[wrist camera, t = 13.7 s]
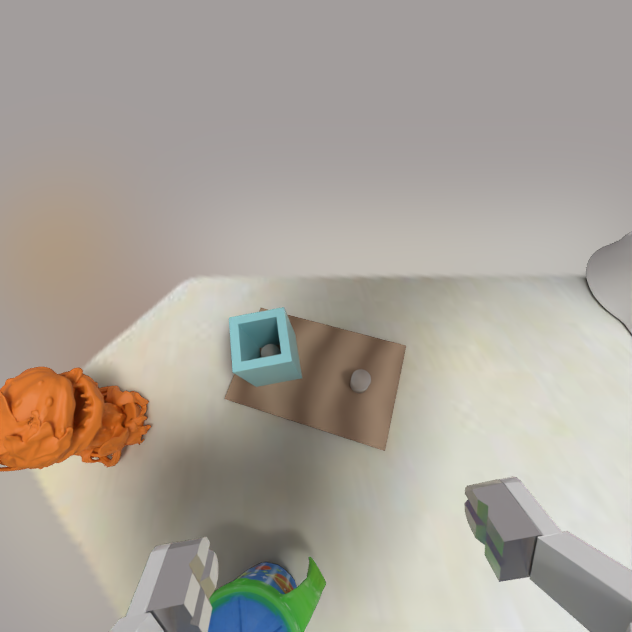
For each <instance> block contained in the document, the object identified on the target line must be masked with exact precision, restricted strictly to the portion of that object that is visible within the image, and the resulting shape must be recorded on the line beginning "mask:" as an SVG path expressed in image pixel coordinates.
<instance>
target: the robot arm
mask: <svg viewBox="0 0 632 632" xmlns="http://www.w3.org/2000/svg"><path fill="white" fill-rule="evenodd" d="M586 277H587V282H588V285H589V287H590V289H591V291H592V293H593V295H594V296H595V298H596V299H597V300H598V301H599V303H600V304H601V305H602V306H603V307H604V308H605V309H606V310H608V311H609V312H610V313H611V314H613V315H614V316H615V317H617V318H618V319H619V320H621V321H622V322H623V323H624V324H625V325H626V327H627V328H628V329H629V331H630V332H631V333H632V232H630V233H628V234H627V235H625V236H624V237H623V238H622V239H621V240H619V241H617V242H614V243H612V244H610V245H607V246H605V247H602V248H601V249H599V250H597V251H596V252H595V253H594V254H593V255H592V256H591V258H590V259H589V261H588V264H587V269H586ZM465 495H466V496H467V498H468V500H467V501H466V502H465V514H466V517H467V521H468V523H469V526H470V528H471V530H472V532H473V534H474V536H475V538H476V539H478V540H479V541H480V542H482V543H483V544H484V545H485V556H486V558H487V560H488V562H489V564H490V566H491V568H492V569H493V571H494V573H495V575H496V577H497V579H498V580H499V582H501V581H507V580H513V579H519V578H526V577H530V580H532V581H533V582H534V583H535V584H536V585H537V586H538V587H540V588H541V589H542V590H543V591H544V592H545V593H546V594H548V595H549V596H550V597H551V598H552V599H553V600H554V601H556V602H557V603H558V604H559V605H560V606H561V607H562V608H564V609H565V610H566V611H567V612H568V613H569V614H570V615H572V616H573V617H574V618H575V619H576V620H577V621H578V622H580V623H581V624H582V625H583V626H584V627H585V628H586V629H588V630H589V631H590V632H632V570H630V569H628V568H627V567H625V566H623V565H622V564H620V563H619V562H617V561H615V560H614V559H612V558H610V557H609V556H607V555H606V554H604V553H602V552H601V551H599V550H597V549H596V548H594V547H593V546H591V545H589V544H588V543H586V542H584V541H583V540H581V539H580V538H578V537H576V536H575V535H573V534H571V533H570V532H568V531H564V532H562V531H561V530H560V529H559V527H558V526H557V525H556V524H555V522H554V521H553V520H552V519H551V517H550V516H549V515H548V514H547V513H546V511H545V510H544V509H543V508H542V506H541V505H540V504H539V503H538V501H537V500H536V499H535V498H534V496H533V495H532V494H531V493H530V492H529V490H528V489H527V488H526V487H525V485H524V484H523V483H522V482H521V480H519V479H518V478H517V477H508V478H504V479H499V480H497V479H496V480H492V481H487V482H482V483H478V484H473V485H469V486H467V487H466V488H465ZM209 546H210V542H209V540H208V538H207V537H201V538H196V539H190V540H185V541H180V542H173V543H168V544H163V545H158V546H155V548H154V549H153V550H152V552H151V553H150V556H149V558H148V561H147V563H146V566H145V568H144V571H143V573H142V576H141V578H140V581H139V584H138V586H137V589H136V591H135V594H134V596H133V599H132V601H131V604H130V606H129V609H128V611H127V614H126V616H125V617H122V618H120V619H119V620H118V621H117V622H116V624H115V625H114V626H113V627H112V628H111V630H110V631H109V632H208V627H209V622H210V617H211V612H212V606H211V603H210V600H209V598H210V597H211V595H212V594H213V592H214V591H215V589H216V586H217V580H218V559H217V556H216V554H215V552H214V551H212V550H210V549H209Z"/></svg>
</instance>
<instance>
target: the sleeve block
mask: <svg viewBox="0 0 632 632" xmlns="http://www.w3.org/2000/svg"><path fill="white" fill-rule="evenodd" d="M229 327H230V341H231V356H232V371H233V373H234V374H236V375H238V376H239V377H241V378H243V379H244V380H246V381H247V382H249V383H251V384H252V385H254V386H256V387H259V386H264V385H269V384H274V383H280V382H285V381H290V380H295V379H301V378H302V374H301V367H300V361H299V355H298V348H297V342H296V336H295V333H294V330H293V328H292V325H291V323H290V321H289V318H288V316H287V314H286V311H285V309H284V307H282V308H277V309H272V310H267V311H261V312H256V313H251V314H245V315H240V316H235V317H230V318H229ZM267 344H274V345H279V344H280V347H281V354H279V355H274V356H268V357H263V358H261V357H260V348H263V347H264V346H265V345H267Z"/></svg>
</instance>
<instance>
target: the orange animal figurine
mask: <svg viewBox="0 0 632 632" xmlns="http://www.w3.org/2000/svg"><path fill="white" fill-rule="evenodd" d="M103 393H104V394H103ZM148 402H149V401H148V400H146V399H144V398H142V397H141V396H140V395H139V393H137V392H134V391H131V392H128V391H124V392H122V391H120V389H119V387H118V386H109V387H108V386H107V387H101V388H99V387H98V383H97V382H94V380H93V379H92V378H90V377H89V376H87V375H84V374H83V370H82V369H81V368H74V369H72V370H71V371H68V372H64V373H61V374H56V373H55V372H54V371H53V370H52V369H50V368H47V367H35V368H30V369H27V370H25V371H24V372H22V373H21V374H20V375H19V376H16V377H15V378H10V379H7V380H6V382H5V385H4V386H3V387H2V388H1V389H0V464H1V465H6V466H8V467H2V468H0V471H15V470H22V469H26V468H29V469H35V468H39V469H42V468H43V467H48V466H50V465H53V464H54V463H60V462H62V461H64V460H66V459H67V458H69V457H70V456H72V455H78V456H81V457H82V462H86V463H95V462H101V463H103V464H105V465H106V466H107V467H111V466H115V465H116V464H117V463H118V461H119V459H120V456H121V450H122V448H123V447H124V446H125V445H133V444H137V443H138V444H139V445H140V443H142V442H143V441H144V440H145V439H143V440H142V441H141V437H142V436H141V435H144V434H147V431H148V429H149V428H151V426H150V425H146V426H143V424H144V420H146V419H147V417H146V416H144V414H145V413H146V410H147V406H146V404H148ZM136 404H138V405H140V406H141V408H142V410H141V408H140V407H139V406H138V405H136ZM110 454H113V455H110ZM107 455H110V456H113V457H112V459H109V458H108V457H107ZM94 457H98V458H99V459H98V460H94V459H92V458H94ZM105 465H104V466H105Z"/></svg>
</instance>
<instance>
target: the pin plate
mask: <svg viewBox="0 0 632 632" xmlns="http://www.w3.org/2000/svg"><path fill="white" fill-rule="evenodd" d="M261 311H267V309H264V308H261V309H260V311H259V312H261ZM287 316H288V318H289V321H290V323H291V325H292V328H293V330H294V333H295V336H296V342H297V348H298V355H299V361H300V367H301V374H302V378H301V379H295V380H290V381H285V382H280V383H274V384H269V385H264V386H259V387H256V386H254V385H252V384H251V383H249V382H247V381H246V380H244V379H243V378H241V377H239V376H238V375H236V374H234V376H233V379H232V381H231V384H230V386H229V389H228V391H227V394H226V396H225V399H227V400H230V401H233V402H236V403H239V404H242V405H245V406H249V407H252V408H255V409H258V410H261V411H264V412H267V413H270V414H273V415H276V416H279V417H282V418H285V419H289V420H292V421H295V422H298V423H301V424H304V425H307V426H310V427H313V428H316V429H319V430H322V431H325V432H329V433H332V434H335V435H338V436H341V437H344V438H347V439H350V440H353V441H356V442H359V443H362V444H366V445H369V446H372V447H375V448H378V449H381V450H384V451H385V448H386V443H387V438H388V433H389V428H390V423H391V418H392V413H393V408H394V403H395V398H396V393H397V388H398V383H399V378H400V373H401V369H402V364H403V359H404V354H405V349H406V346H405V345H401V344H397V343H394V342H390V341H386V340H382V339H378V338H375V337H371V336H367V335H363V334H359V333H355V332H352V331H348V330H344V329H340V328H336V327H332V326H329V325H325V324H321V323H317V322H313V321H310V320H306V319H302V318H298V317H294V316H290V315H287ZM279 354H281V347H280V344H279V345H274V344H267V345H265V346H264V347H263V348H260V357H261V358H263V357H268V356H274V355H279Z"/></svg>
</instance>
